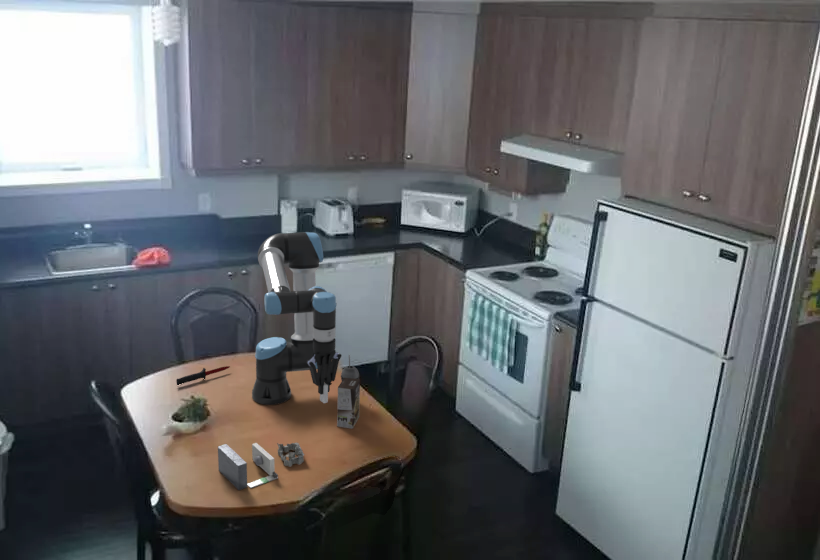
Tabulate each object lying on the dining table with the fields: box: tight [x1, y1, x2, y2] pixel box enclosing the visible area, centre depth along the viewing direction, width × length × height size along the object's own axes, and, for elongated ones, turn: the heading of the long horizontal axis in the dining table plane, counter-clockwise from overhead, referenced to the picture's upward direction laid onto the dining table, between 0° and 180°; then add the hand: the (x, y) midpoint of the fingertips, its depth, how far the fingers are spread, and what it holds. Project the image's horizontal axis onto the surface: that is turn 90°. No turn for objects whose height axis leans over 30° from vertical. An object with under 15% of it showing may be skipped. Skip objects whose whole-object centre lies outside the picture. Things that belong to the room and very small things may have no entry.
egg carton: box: [276, 442, 305, 467], centre depth 269 cm, size 11×8×4 cm
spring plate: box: [251, 442, 279, 478], centre depth 261 cm, size 14×3×6 cm, turn 40°
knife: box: [175, 365, 231, 386], centre depth 321 cm, size 24×2×5 cm, turn 132°
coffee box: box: [336, 378, 361, 430], centre depth 292 cm, size 9×6×16 cm
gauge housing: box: [217, 443, 279, 491], centre depth 257 cm, size 15×14×9 cm
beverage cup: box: [340, 354, 360, 381], centre depth 305 cm, size 7×7×20 cm
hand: (323, 401), depth 272 cm, fingers closed
